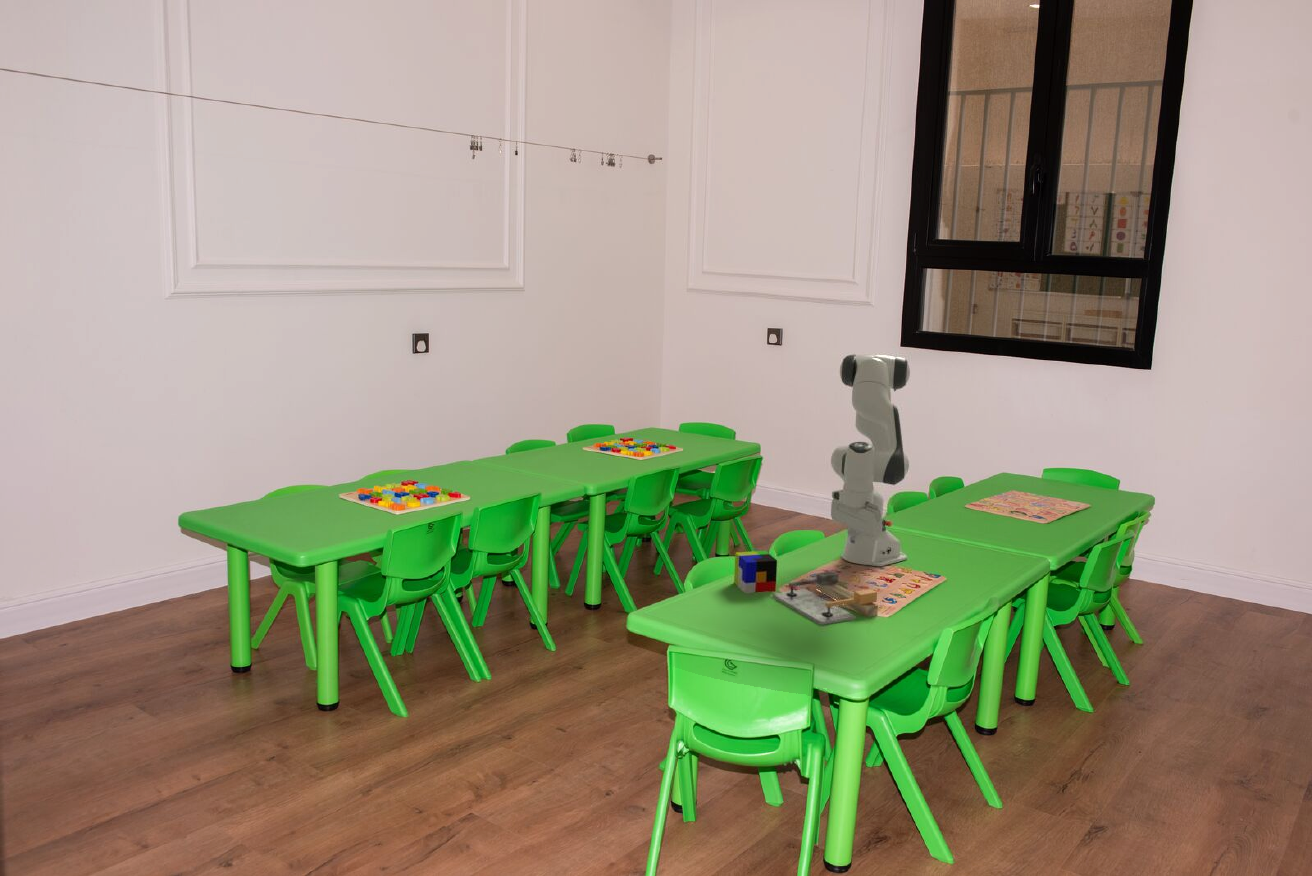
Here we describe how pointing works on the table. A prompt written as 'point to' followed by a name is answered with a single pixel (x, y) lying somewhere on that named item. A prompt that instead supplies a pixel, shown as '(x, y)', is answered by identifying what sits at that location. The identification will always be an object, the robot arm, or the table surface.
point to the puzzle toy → (755, 572)
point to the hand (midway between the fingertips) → (854, 543)
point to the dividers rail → (837, 592)
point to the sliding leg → (856, 599)
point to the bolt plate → (813, 607)
